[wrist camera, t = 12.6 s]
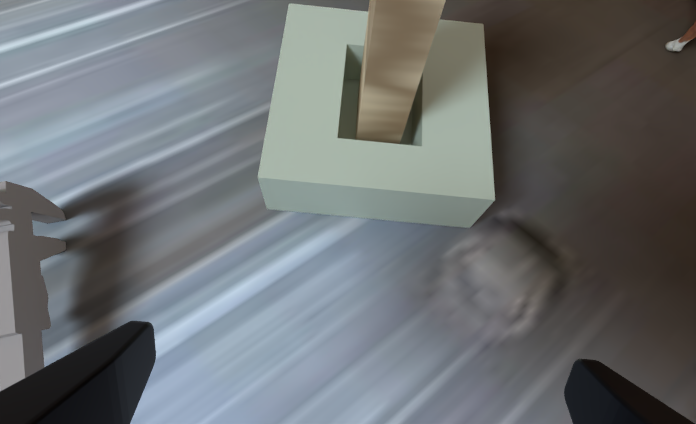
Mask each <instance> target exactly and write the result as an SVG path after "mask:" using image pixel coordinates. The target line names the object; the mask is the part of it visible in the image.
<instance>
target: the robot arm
mask: <svg viewBox="0 0 696 424" xmlns="http://www.w3.org/2000/svg"><path fill="white" fill-rule="evenodd" d="M155 359H156V350H155V339H154V329H153V325H152V324H151V323H150V322H142V321H130V322H128V323H126V324H124V325H122V326H120V327H119V328H117V329H115V330H113V331H111V332H109V333H107V334H106V335H104V336H102V337H100V338H98V339H96V340H94V341H93V342H91V343H89V344H87V345H85V346H83V347H81V348H80V349H78V350H76V351H74V352H72V353H70V354H68V355H67V356H65V357H63V358H61V359H59V360H57V361H55V362H54V363H52V364H50V365H48V366H46V367H44V368H42V369H41V370H39V371H37V372H35V373H33V374H31V375H29V376H28V377H26V378H24V379H22V380H20V381H18V382H16V383H15V384H13V385H11V386H9V387H7V388H5V389H3V390H2V391H0V424H130V422H131V420H132V417H133V415H134V413H135V410H136V408H137V405H138V403H139V400H140V398H141V396H142V393H143V391H144V388H145V386H146V383H147V381H148V378H149V376H150V374H151V371H152V369H153V366H154V363H155ZM564 396H565V401H566V404H567V407H568V410H569V413H570V416H571V419H572V421H573V424H695V423H693V422H691V421H690V420H688V419H687V418H685V417H684V416H682V415H681V414H679V413H678V412H676V411H675V410H673V409H671V408H670V407H668V406H667V405H665V404H664V403H662V402H661V401H659V400H658V399H656V398H655V397H653V396H651V395H650V394H648V393H647V392H645V391H644V390H642V389H641V388H639V387H638V386H636V385H635V384H633V383H631V382H630V381H628V380H627V379H625V378H624V377H622V376H621V375H619V374H618V373H616V372H615V371H613V370H611V369H610V368H608V367H607V366H605V365H604V364H602V363H601V362H599V361H596V360H588V359H578V360H576V361H575V362H574V364H573V367H572V369H571V372H570V375H569V378H568V380H567V383H566V386H565V390H564Z"/></svg>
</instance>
